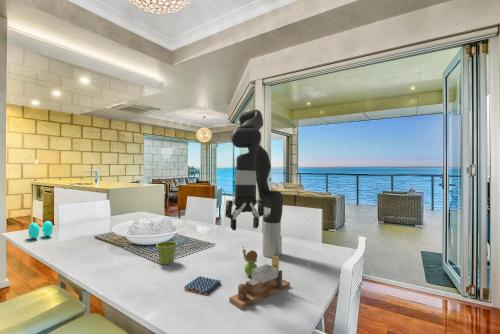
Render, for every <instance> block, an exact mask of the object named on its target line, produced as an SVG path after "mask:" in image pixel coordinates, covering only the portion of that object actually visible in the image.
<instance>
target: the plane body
mask: <svg viewBox="0 0 500 334" xmlns="http://www.w3.org/2000/svg"><path fill="white" fill-rule="evenodd" d="M237 287H238V288H237V289H238V290H237V292H238V293H237V294H234V295H232V296H230V297H229V300H228V301H229V303H230V304H232V305H233V306H235V307H236V308H237V309H240V310H243V309H246V308H247V307H249V306H253V305H254V304H257V303H258V302H260V301H263V300H265V299H267V298H269V297H271V296H273V295H275V294H277V293H280V292H282V291H284V290H286V289H288V288H290V287H291V283H290V281H288V280H285V279H283V270H282V269H279V274H278V277H277V278H274V279H272V280H269V281H267V282H265V283H261V282H259V281H257V280H254V279H252V278H251V279H250V280H247V281H245V283H240V284H238V286H237Z"/></svg>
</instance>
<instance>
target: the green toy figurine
mask: <svg viewBox="0 0 500 334" xmlns="http://www.w3.org/2000/svg"><path fill="white" fill-rule="evenodd" d="M244 248H245V246H242V253H243V259H244V261H245V262H247V263H246V264H245V265H244V266H245V267H244V272H245V274H246V275H247V276H248V277H251V275H252V269H255V268H258V265H257V264H256V262H258V260H257V258H258V252H256V251H255V250H249V251H248V252H247V250H246V249H244Z"/></svg>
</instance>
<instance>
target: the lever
mask: <svg viewBox="0 0 500 334" xmlns="http://www.w3.org/2000/svg"><path fill="white" fill-rule="evenodd" d="M279 261H280V256H277V255H272V257H271V266H273V267H276V268H278V274H279V271H280V269H279V268H280V266H279V265H280V262H279Z"/></svg>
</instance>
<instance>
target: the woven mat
mask: <svg viewBox="0 0 500 334" xmlns="http://www.w3.org/2000/svg"><path fill="white" fill-rule="evenodd" d="M220 285H222V280H219V279H215V278H210V277H205V276H201V275H200V276H197V277H196V278H195V279H194V280H192V281H190V282H189V283H187V285H186V284H185V285H184V286H183V291H187V292H189V293H190V292H192V293H195V294H199V295H202V296H203V295H205V296H209V295H210V294H211V293H212V292H213V291H214V290H216V288H218V287H219V286H220Z"/></svg>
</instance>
